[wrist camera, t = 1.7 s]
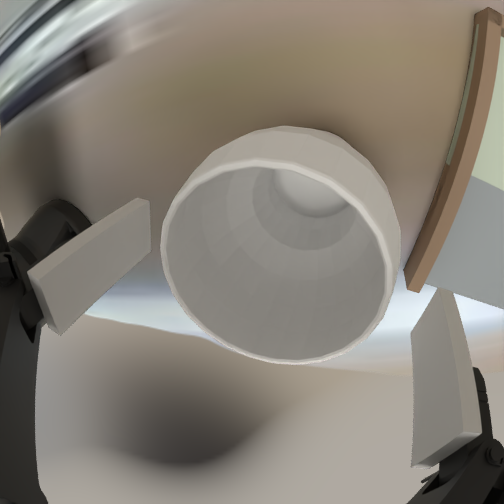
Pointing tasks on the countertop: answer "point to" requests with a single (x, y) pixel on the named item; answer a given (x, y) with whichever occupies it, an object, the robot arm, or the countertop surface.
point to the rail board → (470, 184)
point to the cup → (283, 246)
